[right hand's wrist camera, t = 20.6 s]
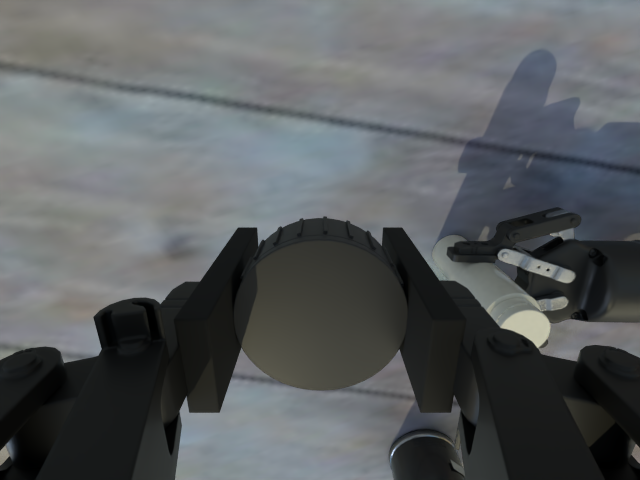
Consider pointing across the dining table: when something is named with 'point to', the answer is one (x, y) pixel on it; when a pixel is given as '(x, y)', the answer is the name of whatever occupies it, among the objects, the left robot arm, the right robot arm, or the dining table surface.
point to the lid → (320, 305)
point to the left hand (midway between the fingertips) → (446, 278)
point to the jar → (495, 293)
